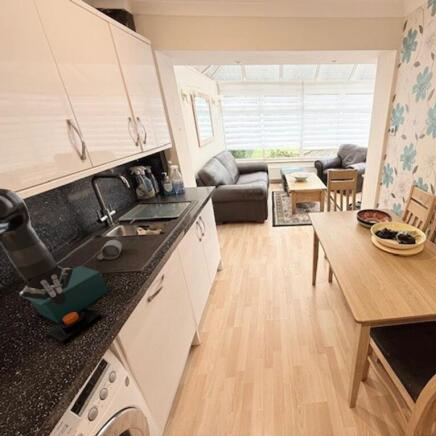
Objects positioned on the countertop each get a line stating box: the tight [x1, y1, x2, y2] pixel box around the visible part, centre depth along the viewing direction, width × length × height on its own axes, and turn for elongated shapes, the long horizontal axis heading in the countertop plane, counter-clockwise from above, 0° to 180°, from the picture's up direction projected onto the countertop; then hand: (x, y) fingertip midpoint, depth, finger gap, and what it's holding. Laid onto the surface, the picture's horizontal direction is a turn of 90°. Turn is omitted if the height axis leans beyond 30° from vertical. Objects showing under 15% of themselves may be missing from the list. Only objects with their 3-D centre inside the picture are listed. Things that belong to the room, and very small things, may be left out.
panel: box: [46, 307, 102, 345], centre depth 79 cm, size 11×9×4 cm
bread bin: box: [29, 273, 110, 324], centre depth 89 cm, size 17×13×9 cm
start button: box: [63, 312, 79, 324], centre depth 78 cm, size 4×4×2 cm
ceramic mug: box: [97, 239, 123, 261], centre depth 118 cm, size 11×8×8 cm
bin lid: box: [23, 265, 101, 306], centre depth 86 cm, size 18×13×5 cm
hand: (61, 302), depth 76 cm, fingers closed
